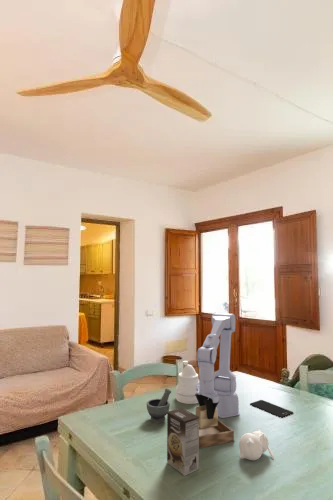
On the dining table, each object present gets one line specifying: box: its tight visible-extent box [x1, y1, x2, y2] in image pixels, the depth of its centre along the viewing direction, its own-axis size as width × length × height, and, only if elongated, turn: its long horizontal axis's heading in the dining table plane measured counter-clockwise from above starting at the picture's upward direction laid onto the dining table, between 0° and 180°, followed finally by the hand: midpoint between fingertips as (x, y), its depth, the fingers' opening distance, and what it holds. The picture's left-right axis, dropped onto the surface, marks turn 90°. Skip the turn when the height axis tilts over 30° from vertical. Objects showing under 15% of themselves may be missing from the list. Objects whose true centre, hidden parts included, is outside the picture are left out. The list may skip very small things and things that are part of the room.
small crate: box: [194, 405, 219, 428], centre depth 124 cm, size 7×5×6 cm
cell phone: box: [249, 399, 294, 419], centre depth 149 cm, size 9×18×1 cm, turn 34°
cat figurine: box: [238, 429, 275, 461], centre depth 109 cm, size 9×11×12 cm
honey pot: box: [175, 360, 199, 405], centre depth 162 cm, size 13×13×18 cm
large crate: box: [199, 418, 235, 449], centre depth 123 cm, size 15×15×4 cm
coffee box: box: [166, 407, 200, 477], centre depth 104 cm, size 9×6×16 cm
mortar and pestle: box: [146, 388, 172, 424], centre depth 138 cm, size 11×9×12 cm
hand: (206, 415), depth 124 cm, fingers closed on small crate, 5 cm apart
